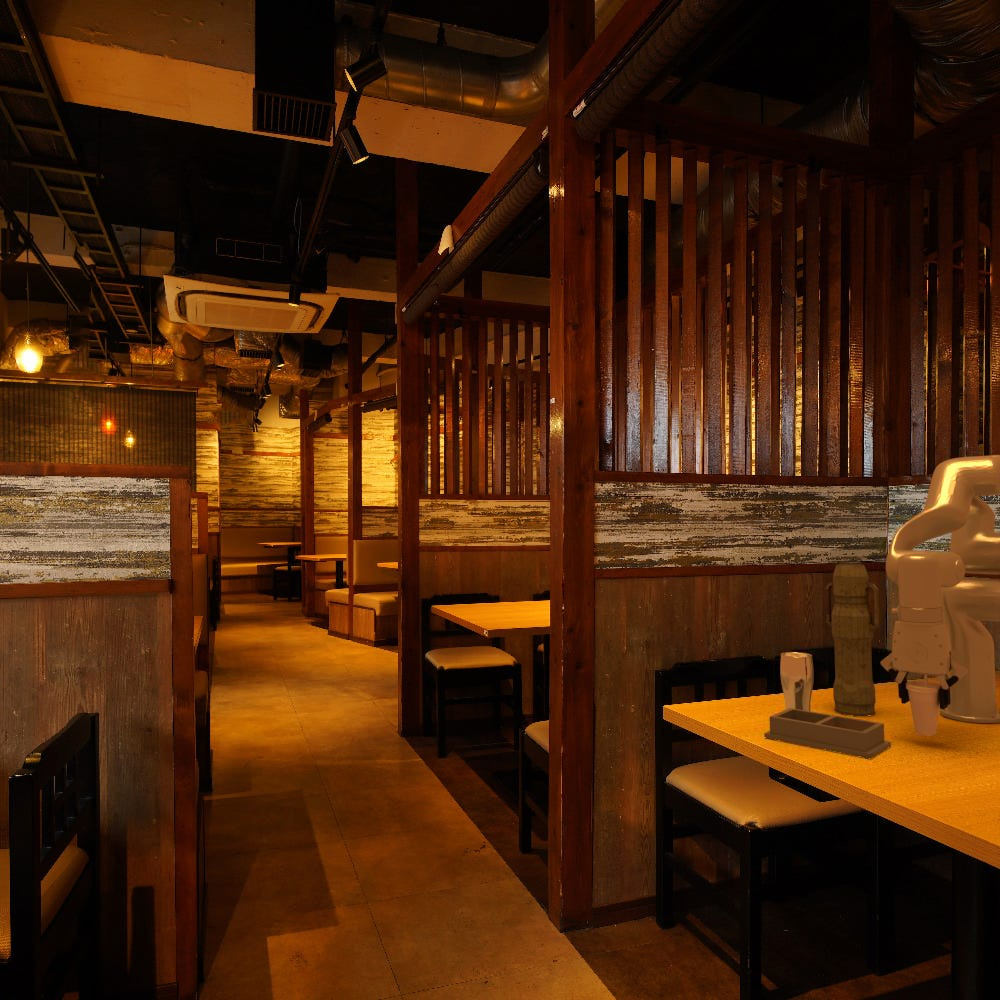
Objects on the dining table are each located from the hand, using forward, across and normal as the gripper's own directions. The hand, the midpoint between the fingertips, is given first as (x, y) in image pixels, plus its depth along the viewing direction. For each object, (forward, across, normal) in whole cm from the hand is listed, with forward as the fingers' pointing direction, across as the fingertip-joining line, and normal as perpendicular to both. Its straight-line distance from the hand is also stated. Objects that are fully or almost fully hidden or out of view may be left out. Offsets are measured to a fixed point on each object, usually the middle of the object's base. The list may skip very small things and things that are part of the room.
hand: (924, 704), depth 150 cm
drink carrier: (+8, -15, -12) cm, 21 cm away
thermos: (+9, -20, +17) cm, 28 cm away
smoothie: (+6, 0, 0) cm, 6 cm away
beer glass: (+8, -26, 0) cm, 27 cm away
